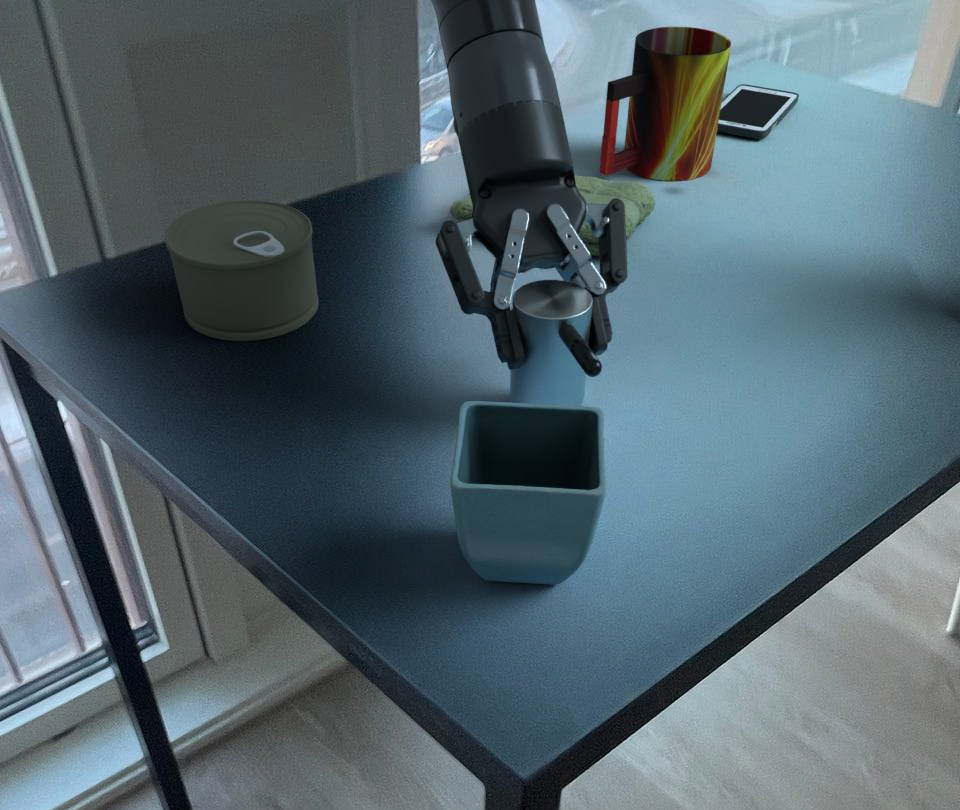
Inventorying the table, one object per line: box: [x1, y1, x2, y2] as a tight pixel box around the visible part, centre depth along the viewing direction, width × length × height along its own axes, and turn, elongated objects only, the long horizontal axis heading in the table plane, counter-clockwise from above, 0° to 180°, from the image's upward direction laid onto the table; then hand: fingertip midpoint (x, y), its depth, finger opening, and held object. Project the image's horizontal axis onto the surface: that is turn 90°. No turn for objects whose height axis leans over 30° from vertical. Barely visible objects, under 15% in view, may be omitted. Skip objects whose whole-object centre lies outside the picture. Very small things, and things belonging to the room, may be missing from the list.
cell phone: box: [717, 83, 800, 140], centre depth 120 cm, size 8×15×1 cm, turn 152°
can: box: [164, 199, 319, 342], centre depth 86 cm, size 12×12×7 cm
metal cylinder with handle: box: [509, 279, 603, 406], centre depth 71 cm, size 11×6×8 cm, turn 18°
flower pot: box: [449, 400, 608, 585], centre depth 62 cm, size 9×9×9 cm
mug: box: [599, 26, 732, 182], centre depth 105 cm, size 10×14×12 cm
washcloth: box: [449, 174, 657, 257], centre depth 99 cm, size 13×18×3 cm
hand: (558, 358), depth 72 cm, fingers closed on metal cylinder with handle, 5 cm apart
